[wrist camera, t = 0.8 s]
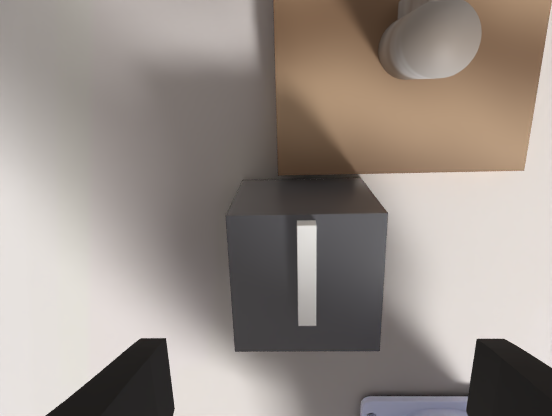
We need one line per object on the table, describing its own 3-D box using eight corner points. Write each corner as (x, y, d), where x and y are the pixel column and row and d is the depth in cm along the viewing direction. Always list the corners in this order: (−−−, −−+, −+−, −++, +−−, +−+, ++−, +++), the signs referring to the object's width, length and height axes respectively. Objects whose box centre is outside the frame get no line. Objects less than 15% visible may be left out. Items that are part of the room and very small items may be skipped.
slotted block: (356, 283, 19) (382, 360, 14) (248, 284, 19) (233, 360, 14) (360, 177, 17) (391, 218, 12) (242, 179, 18) (223, 221, 12)
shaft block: (510, 165, 17) (586, 193, 13) (278, 170, 17) (275, 198, 13) (553, -113, 14) (669, -200, 10) (271, -100, 14) (264, -178, 10)
